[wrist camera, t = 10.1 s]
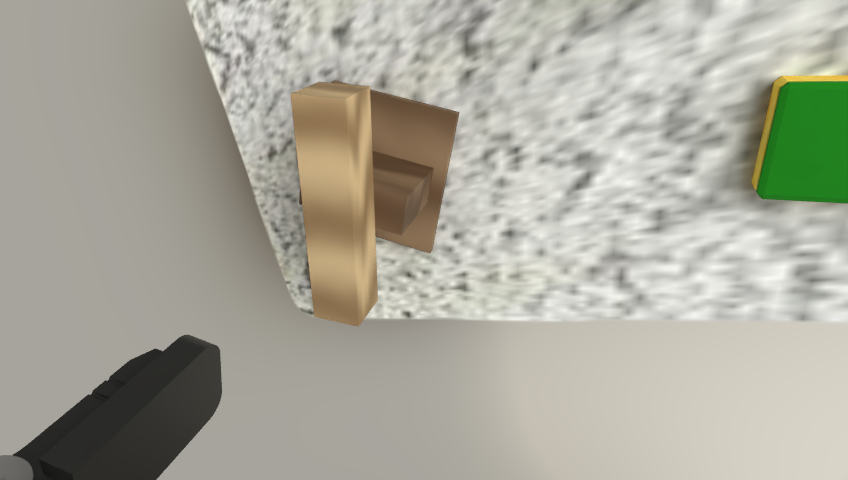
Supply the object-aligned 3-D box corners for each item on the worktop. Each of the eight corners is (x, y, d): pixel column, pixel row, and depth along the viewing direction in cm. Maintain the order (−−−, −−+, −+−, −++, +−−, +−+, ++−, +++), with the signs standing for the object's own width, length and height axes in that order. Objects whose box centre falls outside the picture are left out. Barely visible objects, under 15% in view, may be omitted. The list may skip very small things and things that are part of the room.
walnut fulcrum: (335, 80, 41) (290, 99, 35) (459, 112, 39) (432, 138, 33) (325, 216, 47) (285, 251, 41) (432, 249, 45) (405, 291, 39)
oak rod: (319, 81, 34) (290, 93, 31) (369, 86, 33) (345, 99, 30) (336, 291, 41) (314, 316, 38) (377, 299, 40) (358, 326, 38)
